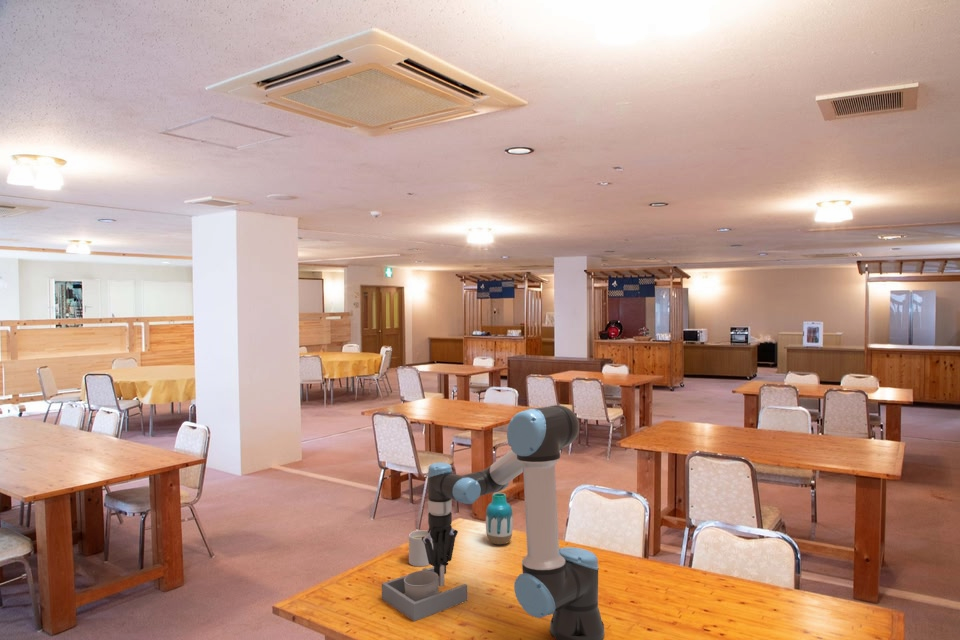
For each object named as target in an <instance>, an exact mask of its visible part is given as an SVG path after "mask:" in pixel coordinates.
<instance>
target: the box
mask: <svg viewBox="0 0 960 640" xmlns="http://www.w3.org/2000/svg"><path fill="white" fill-rule="evenodd" d="M426 569H427V570H428V571H433V572H434V566H432V567H428V568H426ZM407 575H408V574H407ZM407 575H403V576H401V577H398V578H394V579H391V580H388V581H385V582H382V583H381V600H382V601H384V602H385V603H387V604H388V605H390V606H391V607H392V608H394V609H396V611H398V612H400V613H402V614H403V615H404V616H406V617H408V618H409V619H410V620H411V621H413V622H416V620H417V621H419V620H421V619H425V618H427V617H429V616H432V615H434V614H437V613H441V612H443V611H445V610H448V609H450V607H451V608H453V607H455V605H456V606H457V604H458V605H461V604H463V603H462V602H464V603H466V602H468V584H466V583H463V584H461V585H458V586H456V587H453V588H450V589H447V590H445V591H443V592H439V593H438V594H436V595H433V596H430V597H427V598H424V599H422V600H419V601H416V602H415V601H413V600H412V599H410V598H409V597H407V596H406V595H405V585H404V578H405V577H406V576H407ZM465 601H466V602H465ZM460 603H461V604H460ZM452 606H453V607H452Z"/></svg>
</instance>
